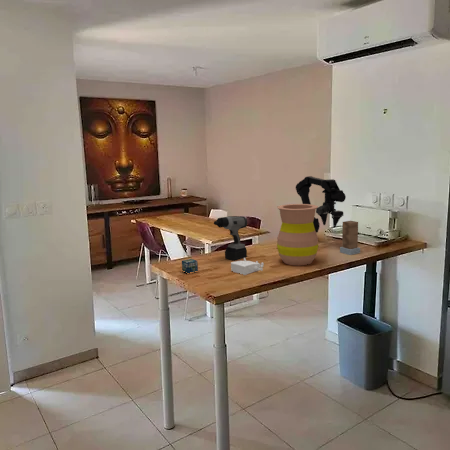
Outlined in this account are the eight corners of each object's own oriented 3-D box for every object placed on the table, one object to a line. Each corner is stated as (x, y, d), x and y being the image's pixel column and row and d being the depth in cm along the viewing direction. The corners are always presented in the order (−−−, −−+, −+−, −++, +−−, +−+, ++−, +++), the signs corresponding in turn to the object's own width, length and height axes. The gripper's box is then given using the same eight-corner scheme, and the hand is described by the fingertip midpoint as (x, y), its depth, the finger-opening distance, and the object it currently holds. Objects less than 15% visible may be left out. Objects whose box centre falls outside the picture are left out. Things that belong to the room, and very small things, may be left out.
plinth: (339, 252, 246) (339, 247, 246) (349, 250, 250) (349, 245, 250) (350, 255, 240) (350, 249, 239) (360, 252, 243) (360, 247, 243)
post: (342, 247, 245) (342, 221, 243) (349, 245, 248) (350, 220, 246) (349, 249, 240) (350, 223, 238) (357, 247, 243) (358, 222, 240)
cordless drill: (211, 263, 233) (209, 218, 229) (240, 253, 251) (239, 212, 246) (221, 265, 228) (219, 219, 223) (250, 255, 246) (249, 213, 241)
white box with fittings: (273, 276, 215) (250, 277, 205) (246, 268, 230) (223, 269, 220) (274, 260, 215) (252, 261, 204) (247, 254, 230) (225, 254, 219)
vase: (296, 269, 215) (296, 211, 210) (268, 260, 233) (267, 206, 228) (327, 262, 227) (327, 206, 222) (298, 254, 245) (298, 202, 240)
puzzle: (198, 272, 217) (197, 260, 216) (188, 274, 214) (187, 263, 213) (192, 269, 222) (191, 258, 221) (182, 271, 219) (181, 260, 218)
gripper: (309, 200, 259) (308, 225, 262) (329, 203, 243) (328, 230, 245) (323, 198, 264) (323, 223, 267) (344, 201, 247) (343, 228, 250)
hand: (329, 226), depth 257 cm, fingers open, 9 cm apart
